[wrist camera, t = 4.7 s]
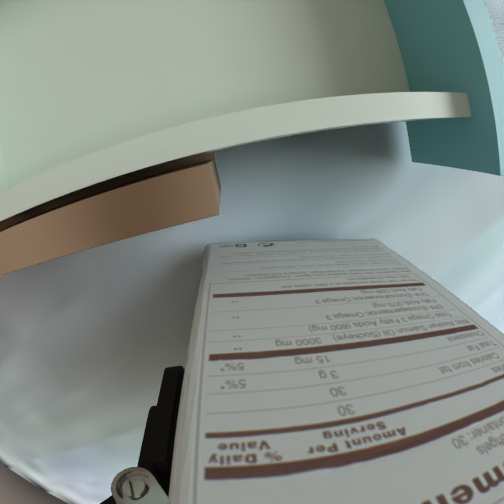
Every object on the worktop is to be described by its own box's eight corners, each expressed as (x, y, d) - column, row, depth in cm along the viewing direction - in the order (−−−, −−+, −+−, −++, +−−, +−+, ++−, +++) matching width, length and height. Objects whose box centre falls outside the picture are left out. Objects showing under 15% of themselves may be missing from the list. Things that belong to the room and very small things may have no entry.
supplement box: (355, 368, 15) (457, 577, 3) (213, 379, 15) (217, 637, 3) (378, 233, 13) (625, 438, 1) (203, 235, 12) (143, 654, 1)
